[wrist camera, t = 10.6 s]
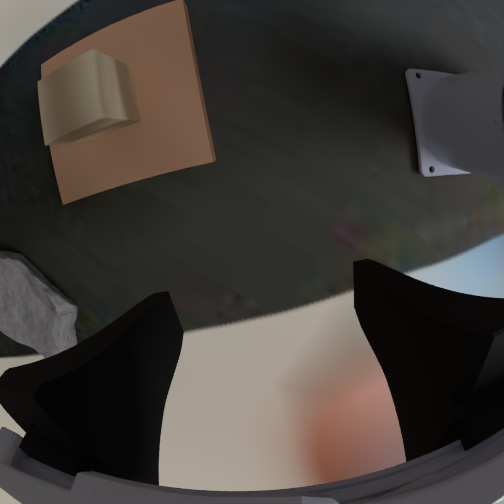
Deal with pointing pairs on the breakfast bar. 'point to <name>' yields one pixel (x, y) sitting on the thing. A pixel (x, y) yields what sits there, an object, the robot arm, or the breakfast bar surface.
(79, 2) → the breakfast bar surface
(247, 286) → the breakfast bar surface
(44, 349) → the stone block
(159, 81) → the terracotta tile
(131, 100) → the birch block
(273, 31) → the breakfast bar surface
